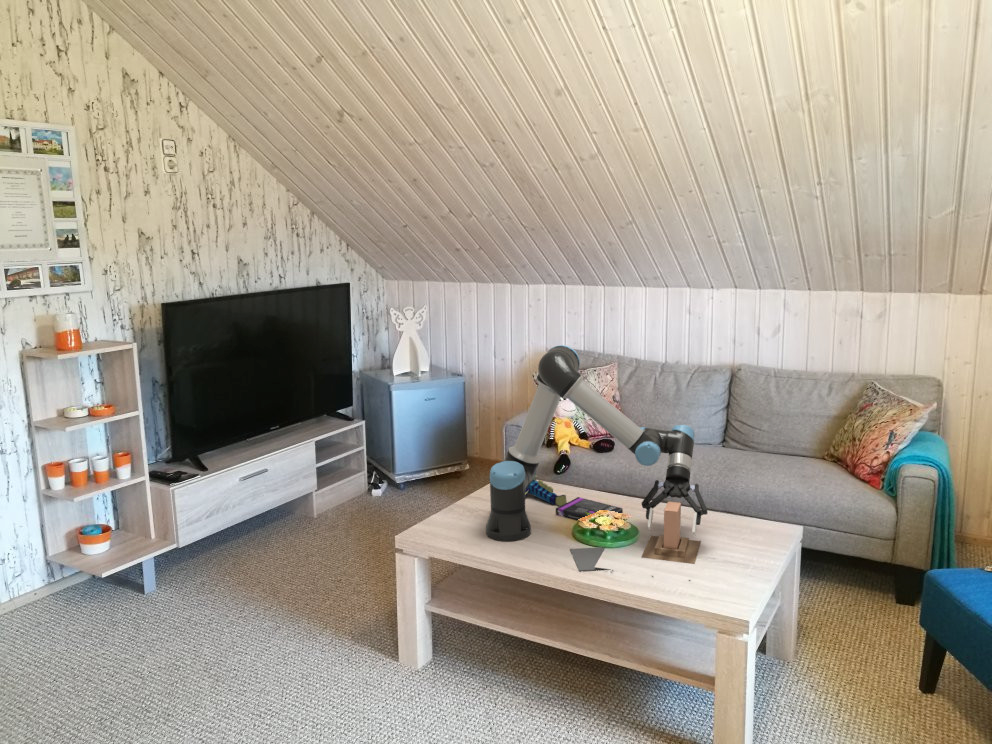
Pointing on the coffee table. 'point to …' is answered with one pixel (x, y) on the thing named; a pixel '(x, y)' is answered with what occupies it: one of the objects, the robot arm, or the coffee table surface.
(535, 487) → the toy
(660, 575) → the coffee table surface
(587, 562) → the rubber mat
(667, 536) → the brown rectangular block
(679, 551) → the slot holder
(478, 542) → the coffee table surface
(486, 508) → the coffee table surface
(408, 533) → the coffee table surface
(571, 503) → the box
